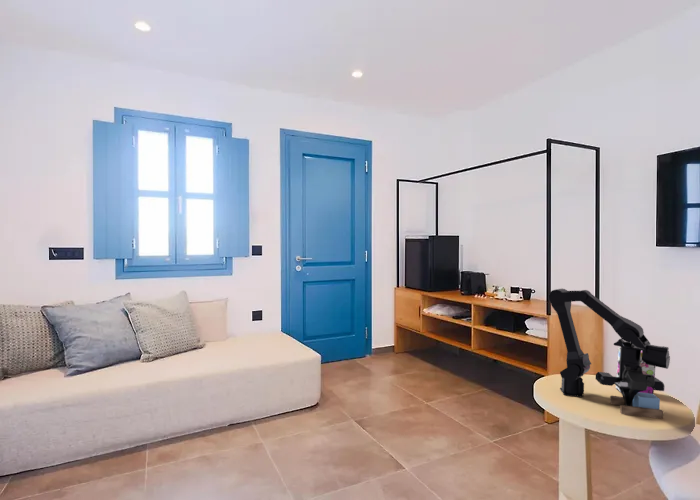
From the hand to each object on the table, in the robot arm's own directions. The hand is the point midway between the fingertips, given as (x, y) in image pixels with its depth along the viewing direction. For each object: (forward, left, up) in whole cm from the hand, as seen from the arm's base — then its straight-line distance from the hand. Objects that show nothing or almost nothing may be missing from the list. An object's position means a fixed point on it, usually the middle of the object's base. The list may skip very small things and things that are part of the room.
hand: (627, 405), depth 136 cm
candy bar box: (+9, +18, -2) cm, 20 cm away
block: (+5, 0, -1) cm, 6 cm away
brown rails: (+2, 0, -1) cm, 3 cm away
